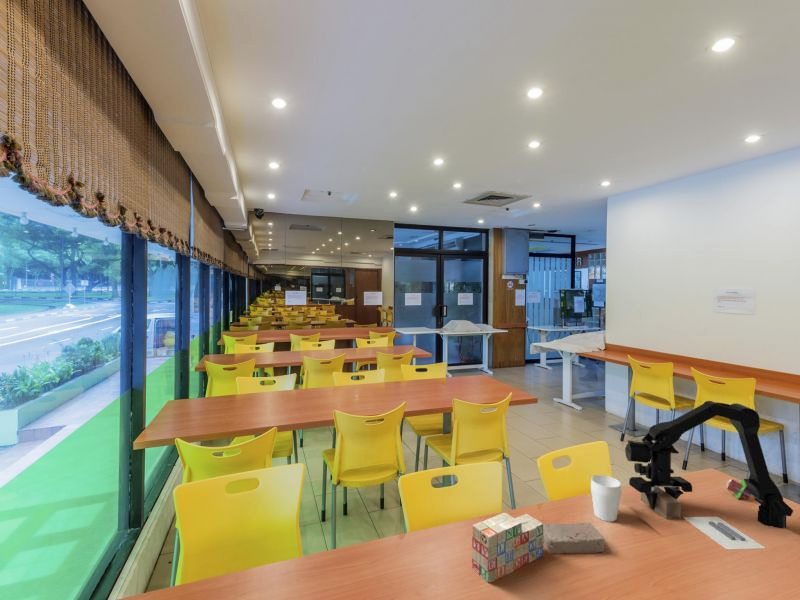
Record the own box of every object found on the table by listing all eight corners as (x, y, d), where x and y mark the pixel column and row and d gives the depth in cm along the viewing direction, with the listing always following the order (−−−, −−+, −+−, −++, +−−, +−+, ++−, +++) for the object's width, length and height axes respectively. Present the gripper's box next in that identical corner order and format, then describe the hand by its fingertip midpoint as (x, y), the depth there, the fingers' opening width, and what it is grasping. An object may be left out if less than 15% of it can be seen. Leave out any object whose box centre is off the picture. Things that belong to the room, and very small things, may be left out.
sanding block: (654, 503, 137) (654, 484, 137) (680, 523, 125) (680, 502, 125) (640, 504, 137) (641, 484, 137) (665, 524, 125) (666, 502, 125)
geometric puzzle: (754, 491, 143) (738, 471, 145) (762, 499, 137) (745, 479, 138) (734, 499, 145) (719, 479, 147) (742, 508, 139) (725, 487, 141)
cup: (621, 514, 130) (621, 479, 130) (619, 527, 123) (620, 490, 122) (591, 506, 135) (592, 472, 135) (588, 518, 127) (589, 482, 127)
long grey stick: (721, 524, 122) (721, 522, 122) (744, 540, 114) (745, 538, 114) (717, 524, 122) (717, 522, 122) (741, 540, 114) (741, 538, 114)
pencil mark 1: (712, 524, 122) (712, 521, 122) (735, 539, 114) (735, 537, 114) (708, 524, 122) (708, 521, 122) (731, 540, 114) (731, 537, 114)
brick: (550, 555, 109) (550, 538, 109) (538, 536, 118) (538, 521, 118) (606, 554, 110) (606, 538, 110) (590, 536, 118) (591, 521, 118)
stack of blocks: (526, 544, 114) (527, 503, 114) (543, 556, 108) (544, 513, 108) (471, 569, 103) (472, 524, 103) (488, 584, 98) (488, 536, 97)
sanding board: (717, 521, 127) (717, 516, 127) (765, 553, 111) (765, 548, 111) (682, 521, 126) (682, 517, 126) (726, 554, 110) (726, 549, 110)
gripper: (668, 453, 139) (668, 496, 139) (619, 454, 138) (618, 497, 138) (694, 467, 128) (693, 513, 128) (640, 468, 127) (639, 514, 127)
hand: (659, 509), depth 131 cm, fingers closed on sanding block, 5 cm apart
